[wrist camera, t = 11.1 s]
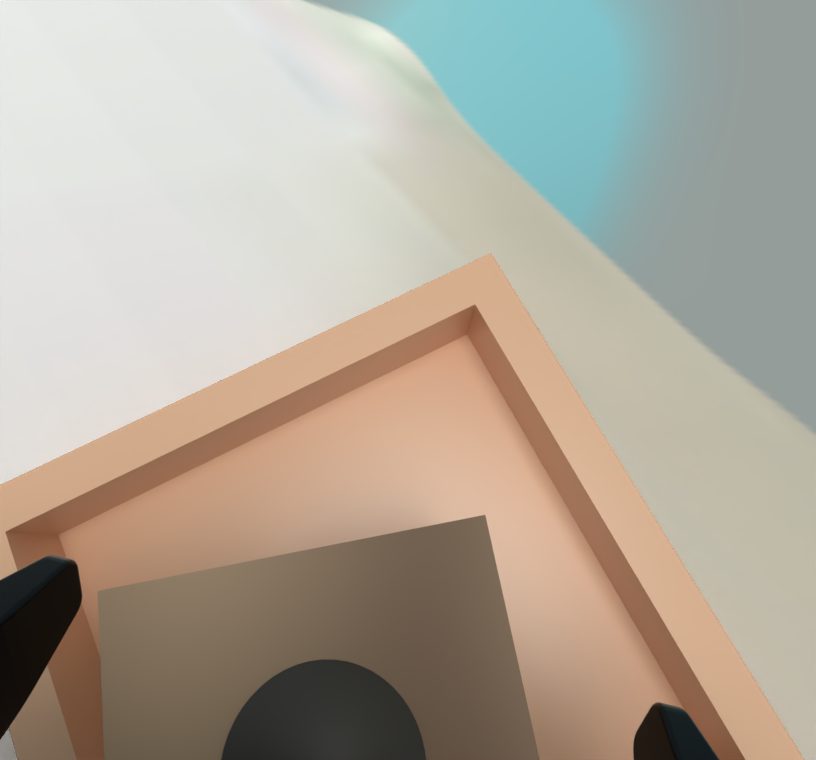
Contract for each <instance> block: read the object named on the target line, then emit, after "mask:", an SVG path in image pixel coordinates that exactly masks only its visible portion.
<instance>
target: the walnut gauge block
mask: <svg viewBox="0 0 816 760" xmlns="http://www.w3.org/2000/svg"><path fill="white" fill-rule="evenodd" d="M97 592H98V616H99V641H100V665H101V690H102V714H103V739H104V760H540V759H539V754H538V750H537V745H536V741H535V736H534V732H533V727H532V723H531V718H530V714H529V709H528V705H527V700H526V696H525V691H524V687H523V682H522V678H521V673H520V669H519V664H518V660H517V655H516V651H515V646H514V642H513V637H512V633H511V628H510V624H509V619H508V615H507V610H506V606H505V601H504V597H503V592H502V588H501V583H500V579H499V574H498V570H497V565H496V561H495V556H494V552H493V547H492V543H491V538H490V534H489V529H488V525H487V520H486V516H485V515H481V516H476V517H471V518H466V519H461V520H456V521H451V522H446V523H441V524H436V525H431V526H425V527H420V528H415V529H410V530H405V531H400V532H395V533H390V534H385V535H380V536H375V537H370V538H364V539H359V540H354V541H349V542H344V543H339V544H334V545H329V546H324V547H319V548H314V549H308V550H303V551H298V552H293V553H288V554H283V555H278V556H273V557H268V558H263V559H258V560H252V561H247V562H242V563H237V564H232V565H227V566H222V567H217V568H212V569H207V570H202V571H196V572H191V573H186V574H181V575H176V576H171V577H166V578H161V579H156V580H151V581H146V582H140V583H135V584H130V585H125V586H120V587H115V588H110V589H105V590H100V591H97Z"/></svg>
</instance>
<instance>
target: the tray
mask: <svg viewBox="0 0 816 760" xmlns="http://www.w3.org/2000/svg"><path fill="white" fill-rule="evenodd" d="M481 515H485V516H486V520H487V525H488V529H489V534H490V538H491V543H492V547H493V552H494V556H495V561H496V565H497V570H498V574H499V579H500V583H501V588H502V592H503V597H504V601H505V606H506V610H507V615H508V619H509V624H510V628H511V633H512V637H513V642H514V646H515V651H516V655H517V660H518V664H519V669H520V673H521V678H522V682H523V687H524V691H525V696H526V700H527V705H528V709H529V714H530V718H531V723H532V727H533V732H534V736H535V741H536V745H537V750H538V754H539V759H540V760H634V758H633V742H634V737H635V734H636V731H637V730H638V728H639V726H640V724H641V723H642V721H643V719H644V718H645V716H646V714H647V713H648V711H649V709H650V708H651V706H652V705H653V704H654V703H657V702H661V703H665V704H669V705H673V706H677V707H680V708H682V709H684V710H685V711H686V712H687V713H688V714H689V716H690V717H691V718H692V720H693V721H694V723H695V724H696V726H697V727H698V729H699V730H700V731H701V733H702V734H703V736H704V737H705V739H706V740H707V742H708V743H709V745H710V746H711V748H712V749H713V750H714V752H715V753H716V755H717V756H718V758H719V759H720V760H804V758H803V757H802V755H801V753H800V752H799V750H798V748H797V747H796V745H795V744H794V742H793V740H792V739H791V737H790V736H789V734H788V732H787V731H786V729H785V727H784V726H783V724H782V723H781V721H780V719H779V718H778V716H777V714H776V713H775V711H774V710H773V708H772V706H771V705H770V703H769V702H768V700H767V698H766V697H765V695H764V693H763V692H762V690H761V689H760V687H759V685H758V684H757V682H756V681H755V679H754V677H753V676H752V674H751V672H750V671H749V669H748V668H747V666H746V664H745V663H744V661H743V659H742V658H741V656H740V655H739V653H738V651H737V650H736V648H735V647H734V645H733V643H732V642H731V640H730V638H729V637H728V635H727V634H726V632H725V630H724V629H723V627H722V625H721V624H720V622H719V621H718V619H717V617H716V616H715V614H714V613H713V611H712V609H711V608H710V606H709V604H708V603H707V601H706V600H705V598H704V596H703V595H702V593H701V592H700V590H699V588H698V587H697V585H696V583H695V582H694V580H693V579H692V577H691V575H690V574H689V572H688V570H687V569H686V567H685V566H684V564H683V562H682V561H681V559H680V558H679V556H678V554H677V553H676V551H675V549H674V548H673V546H672V545H671V543H670V541H669V540H668V538H667V536H666V535H665V533H664V532H663V530H662V528H661V527H660V525H659V524H658V522H657V520H656V519H655V517H654V515H653V514H652V512H651V511H650V509H649V507H648V506H647V504H646V502H645V501H644V499H643V498H642V496H641V494H640V493H639V491H638V490H637V488H636V486H635V485H634V483H633V481H632V480H631V478H630V477H629V475H628V473H627V472H626V470H625V469H624V467H623V465H622V464H621V462H620V460H619V459H618V457H617V456H616V454H615V452H614V451H613V449H612V447H611V446H610V444H609V443H608V441H607V439H606V438H605V436H604V435H603V433H602V431H601V430H600V428H599V426H598V425H597V423H596V422H595V420H594V418H593V417H592V415H591V413H590V412H589V410H588V409H587V407H586V405H585V404H584V402H583V401H582V399H581V397H580V396H579V394H578V392H577V391H576V389H575V388H574V386H573V384H572V383H571V381H570V380H569V378H568V376H567V375H566V373H565V371H564V370H563V368H562V367H561V365H560V363H559V362H558V360H557V358H556V357H555V355H554V354H553V352H552V350H551V349H550V347H549V346H548V344H547V342H546V341H545V339H544V337H543V336H542V334H541V333H540V331H539V329H538V328H537V326H536V324H535V323H534V321H533V320H532V318H531V316H530V315H529V313H528V312H527V310H526V308H525V307H524V305H523V303H522V302H521V300H520V299H519V297H518V295H517V294H516V292H515V291H514V289H513V287H512V286H511V284H510V282H509V281H508V279H507V278H506V276H505V274H504V273H503V271H502V269H501V268H500V266H499V265H498V263H497V261H496V260H495V258H494V257H493V255H492V253H490V254H488V255H485V256H483V257H481V258H479V259H477V260H475V261H473V262H471V263H469V264H466V265H464V266H462V267H460V268H458V269H456V270H454V271H452V272H450V273H447V274H445V275H443V276H441V277H439V278H437V279H435V280H433V281H430V282H428V283H426V284H424V285H422V286H420V287H418V288H416V289H414V290H411V291H409V292H407V293H405V294H403V295H401V296H399V297H397V298H395V299H392V300H390V301H388V302H386V303H384V304H382V305H380V306H378V307H376V308H373V309H371V310H369V311H367V312H365V313H363V314H361V315H359V316H357V317H354V318H352V319H350V320H348V321H346V322H344V323H342V324H340V325H337V326H335V327H333V328H331V329H329V330H327V331H325V332H323V333H321V334H318V335H316V336H314V337H312V338H310V339H308V340H306V341H304V342H302V343H299V344H297V345H295V346H293V347H291V348H289V349H287V350H285V351H283V352H280V353H278V354H276V355H274V356H272V357H270V358H268V359H266V360H263V361H261V362H259V363H257V364H255V365H253V366H251V367H249V368H247V369H244V370H242V371H240V372H238V373H236V374H234V375H232V376H230V377H228V378H225V379H223V380H221V381H219V382H217V383H215V384H213V385H211V386H209V387H206V388H204V389H202V390H200V391H198V392H196V393H194V394H192V395H190V396H187V397H185V398H183V399H181V400H179V401H177V402H175V403H173V404H170V405H168V406H166V407H164V408H162V409H160V410H158V411H156V412H154V413H151V414H149V415H147V416H145V417H143V418H141V419H139V420H137V421H135V422H132V423H130V424H128V425H126V426H124V427H122V428H120V429H118V430H116V431H113V432H111V433H109V434H107V435H105V436H103V437H101V438H99V439H96V440H94V441H92V442H90V443H88V444H86V445H84V446H82V447H80V448H77V449H75V450H73V451H71V452H69V453H67V454H65V455H63V456H61V457H58V458H56V459H54V460H52V461H50V462H48V463H46V464H44V465H42V466H39V467H37V468H35V469H33V470H31V471H29V472H27V473H25V474H23V475H20V476H18V477H16V478H14V479H12V480H10V481H8V482H6V483H3V484H1V485H0V580H1V579H3V578H5V577H7V576H8V575H10V574H12V573H14V572H16V571H18V570H20V569H22V568H24V567H26V566H28V565H29V564H31V563H33V562H35V561H37V560H39V559H41V558H43V557H46V556H49V555H56V556H60V557H64V558H68V559H72V560H74V561H75V562H76V563H77V565H78V569H79V576H80V582H81V589H82V602H81V606H80V608H79V610H78V612H77V614H76V616H75V618H74V619H73V621H72V623H71V625H70V626H69V628H68V630H67V632H66V633H65V635H64V637H63V639H62V640H61V642H60V644H59V646H58V647H57V649H56V651H55V653H54V654H53V656H52V658H51V660H50V661H49V663H48V665H47V667H46V668H45V670H44V672H43V674H42V675H41V677H40V679H39V681H38V682H37V684H36V686H35V688H34V689H33V691H32V693H31V694H30V696H29V698H28V699H27V701H26V703H25V704H24V706H23V707H22V709H21V710H20V712H19V713H18V715H17V716H16V718H15V719H14V721H13V722H12V724H11V725H10V726H9V731H10V734H11V738H12V741H13V744H14V748H15V751H16V755H17V758H18V760H104V739H103V714H102V690H101V665H100V641H99V616H98V592H97V591H100V590H105V589H110V588H115V587H120V586H125V585H130V584H135V583H140V582H146V581H151V580H156V579H161V578H166V577H171V576H176V575H181V574H186V573H191V572H196V571H202V570H207V569H212V568H217V567H222V566H227V565H232V564H237V563H242V562H247V561H252V560H258V559H263V558H268V557H273V556H278V555H283V554H288V553H293V552H298V551H303V550H308V549H314V548H319V547H324V546H329V545H334V544H339V543H344V542H349V541H354V540H359V539H364V538H370V537H375V536H380V535H385V534H390V533H395V532H400V531H405V530H410V529H415V528H420V527H425V526H431V525H436V524H441V523H446V522H451V521H456V520H461V519H466V518H471V517H476V516H481Z"/></svg>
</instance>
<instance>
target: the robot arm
mask: <svg viewBox="0 0 816 760" xmlns="http://www.w3.org/2000/svg"><path fill="white" fill-rule="evenodd" d="M81 602H82V589H81V582H80V576H79V569H78V565H77V563H76V562H75V561H74V560H72V559H68V558H64V557H60V556H56V555H49V556H46V557H43V558H41V559H39V560H37V561H35V562H33V563H31V564H29V565H28V566H26V567H24V568H22V569H20V570H18V571H16V572H14V573H12V574H10V575H8V576H7V577H5V578H3V579H1V580H0V739H1V738H2V736H3V735H4V734H5V732H6V731H7V729H8V728H9V726H10V725H11V724H12V722H13V721H14V719H15V718H16V716H17V715H18V713H19V712H20V710H21V709H22V707H23V706H24V704H25V703H26V701H27V699H28V698H29V696H30V694H31V693H32V691H33V689H34V688H35V686H36V684H37V682H38V681H39V679H40V677H41V675H42V674H43V672H44V670H45V668H46V667H47V665H48V663H49V661H50V660H51V658H52V656H53V654H54V653H55V651H56V649H57V647H58V646H59V644H60V642H61V640H62V639H63V637H64V635H65V633H66V632H67V630H68V628H69V626H70V625H71V623H72V621H73V619H74V618H75V616H76V614H77V612H78V610H79V608H80V606H81ZM633 758H634V760H720V759H719V758H718V756H717V755H716V753H715V752H714V750H713V749H712V748H711V746H710V745H709V743H708V742H707V740H706V739H705V737H704V736H703V734H702V733H701V731H700V730H699V729H698V727H697V726H696V724H695V723H694V721H693V720H692V718H691V717H690V716H689V714H688V713H687V712H686V711H685V710H684V709H682V708H680V707H677V706H673V705H669V704H665V703H661V702H657V703H654V704H653V705H652V706H651V708H650V709H649V711H648V713H647V714H646V716H645V718H644V719H643V721H642V723H641V724H640V726H639V728H638V730H637V731H636V734H635V737H634V742H633Z"/></svg>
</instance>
